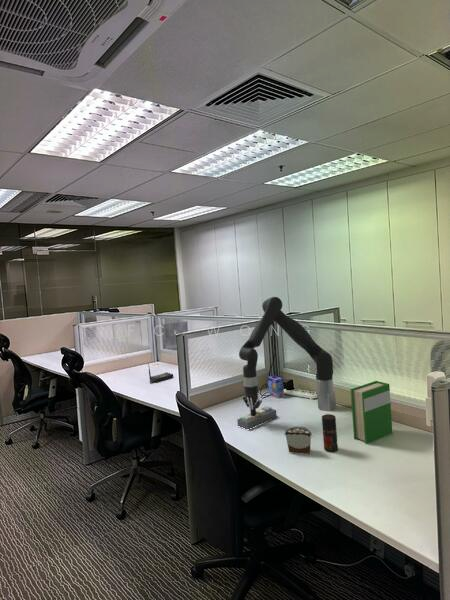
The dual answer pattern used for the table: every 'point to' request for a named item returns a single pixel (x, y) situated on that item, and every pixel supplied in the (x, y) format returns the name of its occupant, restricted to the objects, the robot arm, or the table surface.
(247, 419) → the key sage
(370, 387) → the hardback book
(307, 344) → the robot arm
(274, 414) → the keyguard
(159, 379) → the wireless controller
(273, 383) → the ink cartridge box
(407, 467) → the table surface
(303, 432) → the food container
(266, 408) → the key slate
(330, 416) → the deodorant
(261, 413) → the key sand
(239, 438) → the table surface
